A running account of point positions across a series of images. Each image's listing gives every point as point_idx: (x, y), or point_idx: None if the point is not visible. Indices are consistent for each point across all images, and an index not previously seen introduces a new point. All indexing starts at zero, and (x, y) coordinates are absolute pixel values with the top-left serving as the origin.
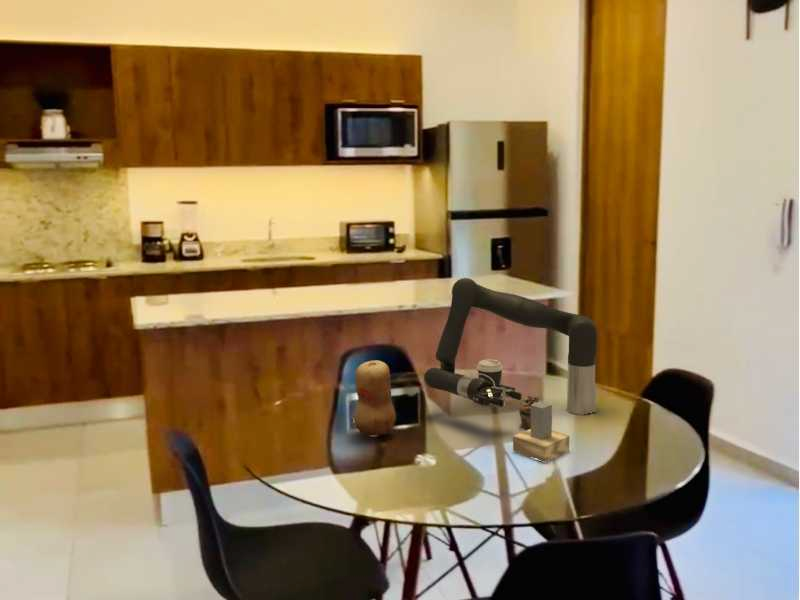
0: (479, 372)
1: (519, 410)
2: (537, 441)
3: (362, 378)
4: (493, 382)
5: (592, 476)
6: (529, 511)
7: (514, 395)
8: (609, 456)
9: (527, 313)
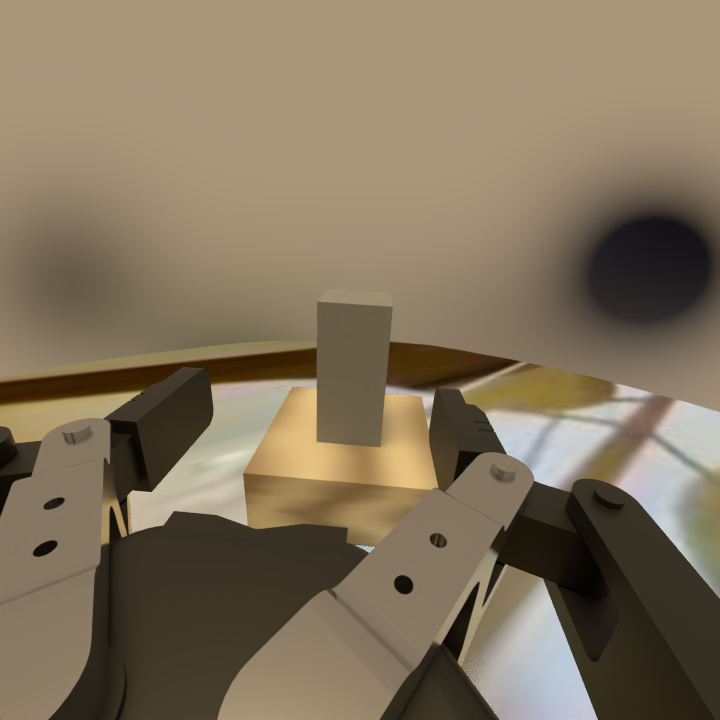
0: None
1: None
2: (404, 418)
3: None
4: None
5: (391, 377)
6: (600, 390)
7: (174, 428)
8: (273, 382)
9: None
